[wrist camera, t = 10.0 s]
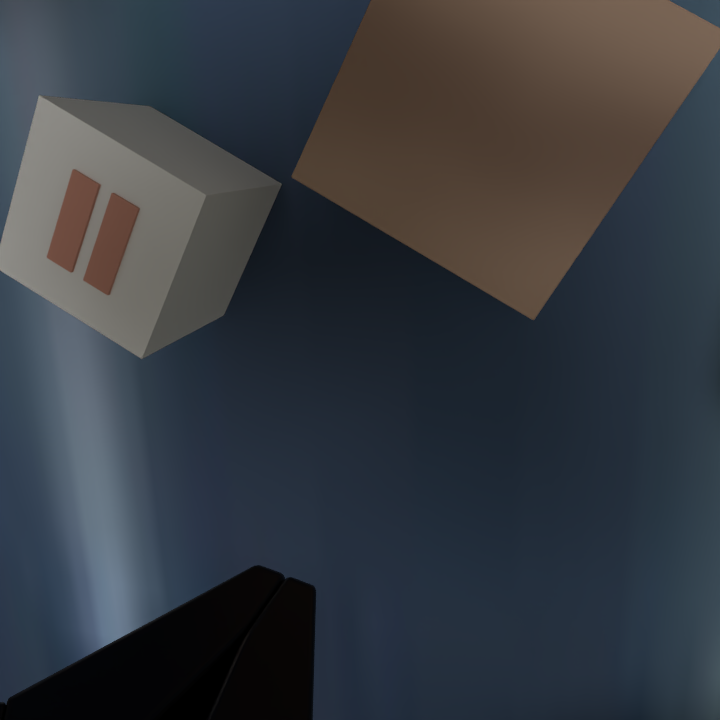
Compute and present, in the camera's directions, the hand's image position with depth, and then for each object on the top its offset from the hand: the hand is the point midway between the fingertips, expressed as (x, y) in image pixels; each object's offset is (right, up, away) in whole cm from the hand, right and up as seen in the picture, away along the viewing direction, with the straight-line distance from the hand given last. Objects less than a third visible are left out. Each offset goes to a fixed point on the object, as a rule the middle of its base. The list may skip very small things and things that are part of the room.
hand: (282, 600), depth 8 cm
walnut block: (+5, +10, +10) cm, 15 cm away
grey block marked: (-5, +8, +13) cm, 16 cm away
